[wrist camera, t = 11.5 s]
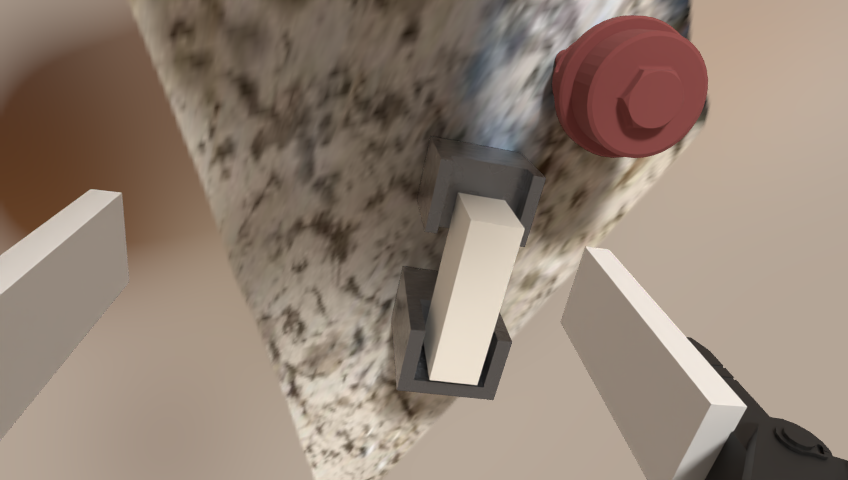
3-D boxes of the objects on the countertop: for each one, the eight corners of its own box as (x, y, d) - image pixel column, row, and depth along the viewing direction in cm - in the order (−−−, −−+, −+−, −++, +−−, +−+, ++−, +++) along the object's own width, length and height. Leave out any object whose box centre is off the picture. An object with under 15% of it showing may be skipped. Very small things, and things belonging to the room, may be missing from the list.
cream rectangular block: (458, 192, 42) (471, 220, 37) (505, 200, 43) (524, 228, 38) (422, 337, 48) (429, 379, 42) (465, 342, 48) (477, 385, 43)
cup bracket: (402, 266, 51) (410, 329, 41) (485, 277, 53) (512, 341, 43) (391, 318, 54) (396, 390, 44) (470, 328, 55) (493, 400, 45)
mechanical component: (652, 15, 44) (629, 134, 48) (536, 11, 43) (522, 133, 47) (749, 19, 33) (708, 174, 37) (594, 14, 32) (570, 173, 36)
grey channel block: (430, 135, 46) (441, 158, 39) (520, 152, 48) (546, 177, 41) (416, 199, 49) (424, 231, 42) (503, 213, 50) (524, 247, 43)
